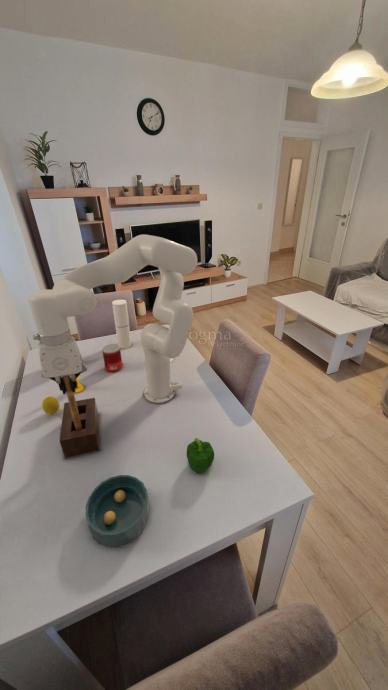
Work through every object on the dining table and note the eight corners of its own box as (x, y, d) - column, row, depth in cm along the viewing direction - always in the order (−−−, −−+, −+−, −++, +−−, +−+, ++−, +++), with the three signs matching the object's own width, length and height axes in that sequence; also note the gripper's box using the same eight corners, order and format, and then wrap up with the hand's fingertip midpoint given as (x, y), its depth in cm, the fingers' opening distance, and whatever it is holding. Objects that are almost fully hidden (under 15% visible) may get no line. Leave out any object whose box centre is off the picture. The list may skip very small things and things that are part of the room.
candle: (73, 394, 115) (65, 363, 107) (68, 388, 118) (60, 357, 110) (85, 389, 118) (78, 358, 110) (81, 383, 121) (74, 353, 113)
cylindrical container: (115, 347, 149) (109, 304, 136) (121, 341, 155) (115, 299, 143) (128, 348, 148) (123, 305, 135) (133, 342, 154) (128, 300, 142)
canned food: (125, 366, 133) (123, 346, 128) (113, 374, 127) (110, 354, 122) (114, 361, 137) (111, 342, 131) (102, 369, 131) (98, 349, 125)
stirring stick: (84, 433, 92) (69, 372, 82) (83, 437, 91) (69, 376, 80) (77, 434, 92) (62, 373, 81) (77, 438, 90) (61, 377, 79)
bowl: (144, 482, 81) (142, 468, 78) (154, 536, 68) (152, 522, 65) (89, 497, 77) (86, 483, 74) (89, 557, 64) (84, 544, 61)
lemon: (55, 419, 102) (50, 403, 98) (42, 417, 103) (36, 401, 99) (64, 409, 107) (59, 393, 103) (51, 407, 108) (46, 391, 104)
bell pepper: (216, 475, 83) (218, 452, 78) (189, 480, 82) (190, 457, 77) (209, 452, 90) (210, 430, 85) (184, 456, 89) (184, 434, 84)
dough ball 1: (112, 527, 68) (101, 523, 68) (112, 525, 71) (101, 522, 70) (117, 513, 70) (106, 509, 69) (117, 512, 72) (106, 508, 72)
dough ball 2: (123, 505, 74) (129, 494, 75) (114, 501, 72) (121, 490, 74) (118, 501, 76) (124, 490, 77) (110, 497, 75) (116, 486, 76)
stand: (98, 413, 105) (94, 397, 101) (99, 450, 90) (95, 433, 86) (68, 419, 102) (64, 403, 98) (64, 458, 88) (59, 441, 84)
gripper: (19, 347, 69) (38, 403, 78) (86, 339, 73) (97, 393, 82) (25, 334, 75) (42, 387, 84) (87, 327, 79) (97, 378, 88)
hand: (69, 390), depth 83 cm, fingers closed on stirring stick, 2 cm apart
